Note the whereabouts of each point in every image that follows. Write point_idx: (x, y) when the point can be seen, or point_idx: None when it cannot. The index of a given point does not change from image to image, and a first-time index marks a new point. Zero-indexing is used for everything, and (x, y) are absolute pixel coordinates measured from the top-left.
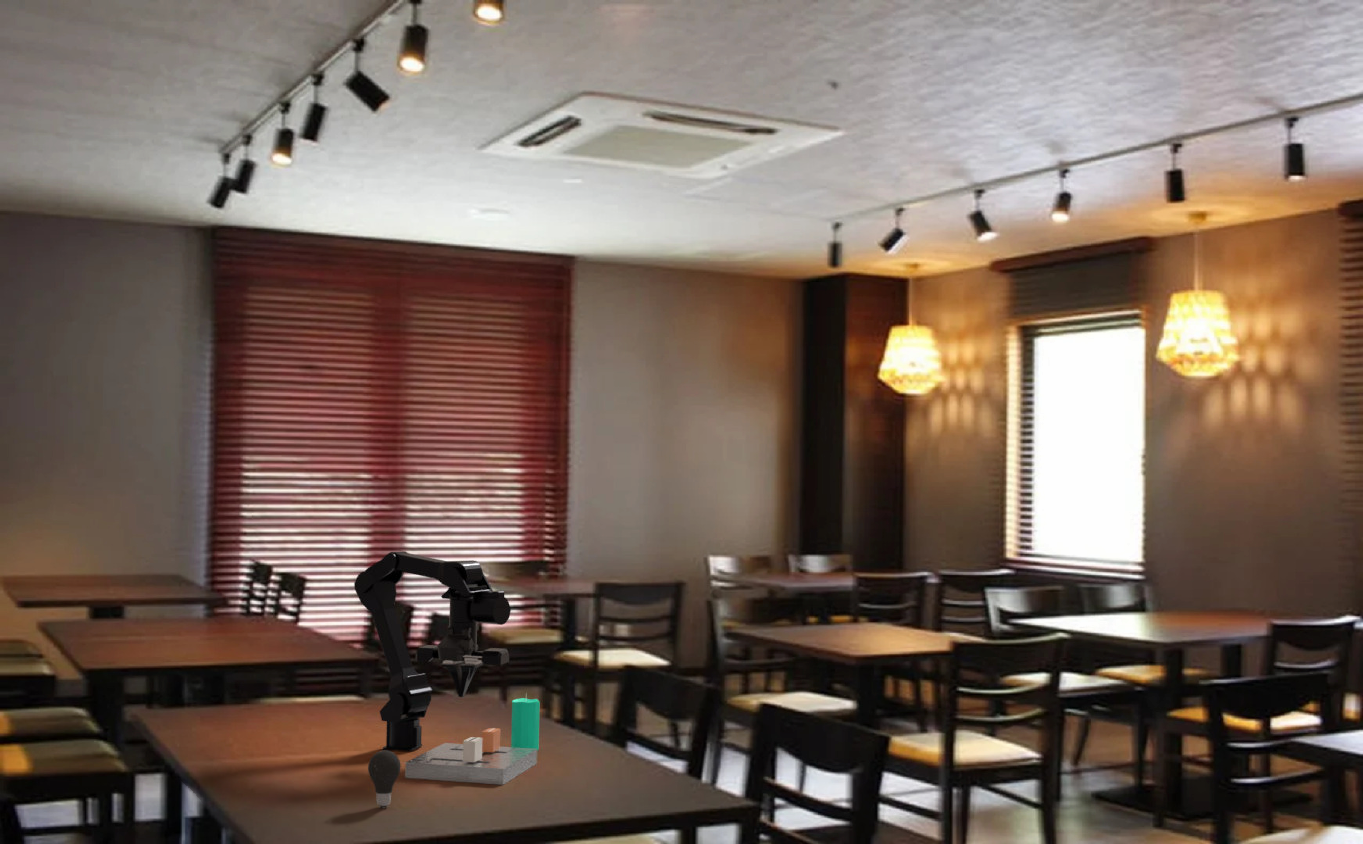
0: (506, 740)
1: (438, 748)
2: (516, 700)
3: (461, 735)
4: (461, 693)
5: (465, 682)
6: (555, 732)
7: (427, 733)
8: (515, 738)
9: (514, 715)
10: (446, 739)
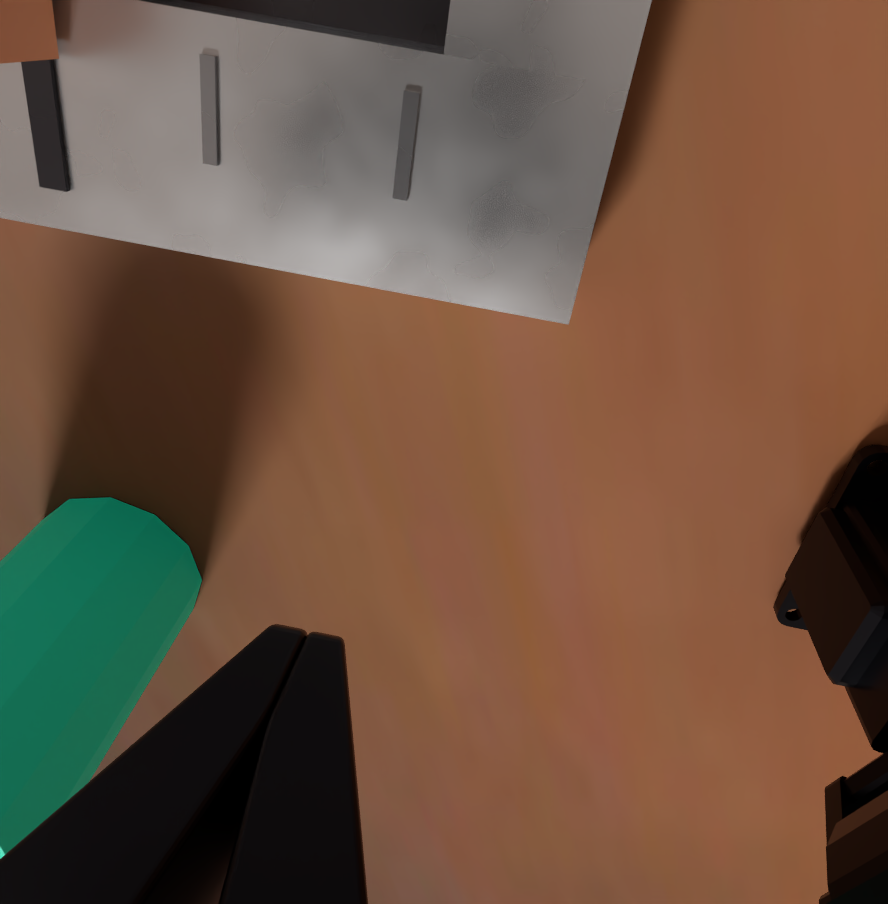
0: None
1: (594, 10)
2: None
3: (564, 836)
4: (266, 669)
5: (10, 862)
6: None
7: (752, 874)
8: (104, 565)
9: (23, 704)
10: (632, 769)
